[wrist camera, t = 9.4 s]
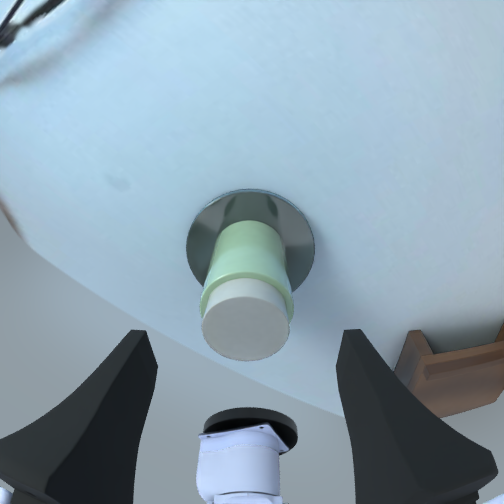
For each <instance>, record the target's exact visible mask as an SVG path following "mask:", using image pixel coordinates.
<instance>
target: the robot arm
mask: <svg viewBox="0 0 504 504" xmlns="http://www.w3.org/2000/svg"><path fill="white" fill-rule="evenodd" d="M157 369H158V365H157V362H156V359H155V357H154V354H153V351H152V347H151V345H150V342H149V339H148V335H147V332H146V331H145V330H131V331H130V332H129V333H128V334H127V335H126V336H125V337H124V338H123V339H122V341H121V342H120V343H119V344H118V345H117V346H116V347H115V349H114V350H113V351H112V352H111V353H110V354H109V356H108V357H107V358H106V359H105V360H104V361H103V362H102V363H101V364H100V366H99V367H98V368H97V369H96V370H95V371H94V372H93V373H92V374H91V375H90V376H89V377H88V378H87V379H86V380H85V381H84V382H83V383H82V384H81V385H80V386H79V387H78V388H77V389H76V390H75V391H74V392H73V393H72V394H71V395H70V396H68V397H67V398H66V399H65V400H64V401H62V402H61V403H60V404H59V405H57V406H56V407H55V408H53V409H52V410H50V411H49V412H48V413H46V414H45V415H44V416H42V417H41V418H39V419H38V420H36V421H35V422H33V423H31V424H29V425H28V426H26V427H24V428H23V429H21V430H19V431H17V432H15V433H13V434H11V435H8V436H7V437H4V438H2V439H0V479H2V480H3V481H5V482H6V483H7V484H9V485H10V486H12V487H13V488H14V489H15V490H14V492H13V493H11V492H9V491H8V490H6V489H4V488H2V487H0V504H133V493H134V480H135V470H136V461H137V454H138V447H139V442H140V438H141V434H142V430H143V427H144V424H145V420H146V416H147V413H148V410H149V406H150V403H151V399H152V396H153V392H154V388H155V382H156V376H157ZM336 372H337V381H338V388H339V394H340V398H341V402H342V406H343V410H344V415H345V419H346V423H347V427H348V431H349V436H350V440H351V446H352V453H353V463H354V476H355V492H356V494H355V495H356V504H476V500H478V499H479V495H478V490H479V489H481V488H482V487H484V486H485V485H486V484H488V483H489V482H490V481H491V480H493V479H494V478H495V477H496V476H497V474H498V469H497V466H496V463H495V460H494V457H493V455H492V453H491V451H490V450H487V449H486V448H484V447H482V446H480V445H478V444H476V443H475V442H473V441H471V440H469V439H468V438H466V437H465V436H463V435H462V434H460V433H458V432H457V431H455V430H454V429H453V428H451V427H450V426H449V425H447V424H446V423H445V422H444V421H442V420H441V419H440V418H438V417H437V416H436V415H435V414H433V413H432V412H431V411H430V410H429V409H428V408H427V407H426V406H424V405H423V404H422V403H421V402H420V401H419V400H418V399H417V398H416V397H415V396H414V395H413V394H412V393H411V392H410V391H409V390H408V388H407V387H406V386H405V385H404V384H403V383H402V382H401V381H400V380H399V378H398V377H397V376H396V375H395V374H394V372H393V371H392V370H391V369H390V367H389V366H388V365H387V364H386V363H385V361H384V360H383V359H382V357H381V356H380V355H379V353H378V352H377V351H376V349H375V348H374V347H373V345H372V344H371V343H370V341H369V340H368V339H367V337H366V336H365V334H364V333H363V332H362V330H361V329H352V330H344V333H343V337H342V342H341V346H340V351H339V355H338V359H337V364H336ZM198 437H199V439H201V444H200V452H199V459H198V467H197V475H196V482H197V488H198V492H199V494H200V496H201V497H202V498H203V500H204V501H206V502H207V503H206V504H289V503H283V498H282V496H280V472H279V453H280V452H285V451H288V450H289V447H288V446H287V444H286V443H285V442H284V441H283V439H282V438H281V437H280V436H279V435H278V433H277V432H276V431H275V430H274V428H273V427H272V426H271V425H270V424H269V423H268V422H264V423H259V424H254V425H249V426H244V427H238V428H232V429H227V430H220V431H214V432H207V433H200V434H199V435H198ZM483 504H504V493H503V494H501V495H499V496H497V497H495V498H493V499H491V500H489V501H487V502H485V503H483Z"/></svg>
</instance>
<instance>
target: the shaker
mask: <svg viewBox="0 0 504 504" xmlns="http://www.w3.org/2000/svg"><path fill="white" fill-rule="evenodd" d="M293 312H294V304H293V297H292V290H291V284H290V277H289V270H288V264H287V257H286V251H285V245H284V242H283V240H282V238H281V237H280V235H279V234H278V233H277V232H276V231H275V230H274V229H273V228H272V227H270V226H269V225H267V224H264V223H262V222H258V221H250V220H248V221H240V222H237V223H234V224H232V225H230V226H228V227H227V228H225V229H224V230H223V231H222V232H221V233H220V235H219V236H218V238H217V240H216V242H215V245H214V249H213V253H212V256H211V260H210V264H209V268H208V272H207V276H206V280H205V283H204V287H203V291H202V295H201V299H200V314H201V317H202V333H203V336H204V339H205V340H206V342H207V344H208V345H209V346H210V347H211V348H212V349H213V350H214V351H216V352H217V353H219V354H220V355H222V356H224V357H227V358H229V359H233V360H238V361H256V360H261V359H264V358H267V357H269V356H271V355H273V354H275V353H276V352H278V351H279V350H280V349H281V348H282V347H283V346H284V344H285V343H286V341H287V339H288V336H289V332H290V326H289V324H290V322H291V320H292V317H293Z"/></svg>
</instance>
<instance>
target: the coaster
mask: <svg viewBox="0 0 504 504" xmlns="http://www.w3.org/2000/svg"><path fill="white" fill-rule="evenodd" d="M248 220H250V221H258V222H262V223H264V224H267V225H269V226H270V227H272V228H273V229H274V230H275V231H276V232H277V233H278V234H279V235H280V237H281V238H282V240H283V242H284V245H285V251H286V257H287V264H288V270H289V277H290V284H291V290H292V292H293V291H295V290H296V289H297V288H298V287H299V286H300V285H301V284H302V282H303V281H304V280H305V278H306V277H307V275H308V274H309V271H310V269H311V267H312V264H313V260H314V254H315V245H314V238H313V235H312V231H311V228H310V226H309V224H308V222H307V220H306V218H305V217H304V215H303V214H302V213H301V212H300V210H299V209H298V208H297V207H296V206H295V205H293V204H292V203H291V202H290V201H288V200H286V199H285V198H283V197H281V196H279V195H277V194H275V193H271V192H268V191H264V190H258V189H242V190H236V191H231V192H229V193H226V194H223V195H221V196H219V197H217V198H215V199H214V200H212V201H211V202H209V203H208V204H207V205H206V206H205V207H204V208H203V209H202V210H201V211H200V212H199V213H198V215H197V216H196V218H195V219H194V221H193V223H192V225H191V228H190V230H189V233H188V237H187V244H186V252H187V259H188V263H189V265H190V268H191V270H192V272H193V274H194V276H195V277H196V279H197V280H198V282H199V283H200V284H201V285H202V286H203V287H204V283H205V280H206V276H207V272H208V268H209V264H210V260H211V256H212V253H213V249H214V245H215V242H216V240H217V238H218V236H219V235H220V233H221V232H222V231H223V230H224V229H225V228H227V227H228V226H230V225H232V224H234V223H237V222H240V221H248Z"/></svg>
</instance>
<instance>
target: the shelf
mask: <svg viewBox="0 0 504 504" xmlns="http://www.w3.org/2000/svg"><path fill="white" fill-rule="evenodd" d="M394 374H395V375H396V376H397V377H398V378H399V380H400V381H401V382H402V383H403V384H404V385H405V386H406V387H407V388H408V390H409V391H410V392H411V393H412V394H413V395H414V396H415V397H416V398H417V399H418V400H419V401H420V402H421V403H422V404H423V405H424V406H426V407H427V408H428V409H429V410H430V411H431V412H432V413H433V414H435V415H436V416H437V417H438V418H443V417H447V416H450V415H454V414H458V413H462V412H465V411H468V410H472V409H475V408H478V407H481V406H484V405H488V404H491V403H493V402H495V401H496V400H497V398H498V397H499V395H500V394H501V393H502V391H503V390H504V323H503V326H502V328H501V330H500V332H499V334H498V336H497V338H496V340H495V342H494V343H491V344H486V345H481V346H476V347H472V348H466V349H461V350H456V351H450V352H444V353H438V354H433V352H432V350H431V348H430V346H429V344H428V343H427V341H426V339H425V337H424V335H423V333H422V331H421V330H415V331H409V333H408V336H407V338H406V341H405V344H404V347H403V350H402V353H401V355H400V358H399V361H398V363H397V366H396V368H395V371H394Z"/></svg>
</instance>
